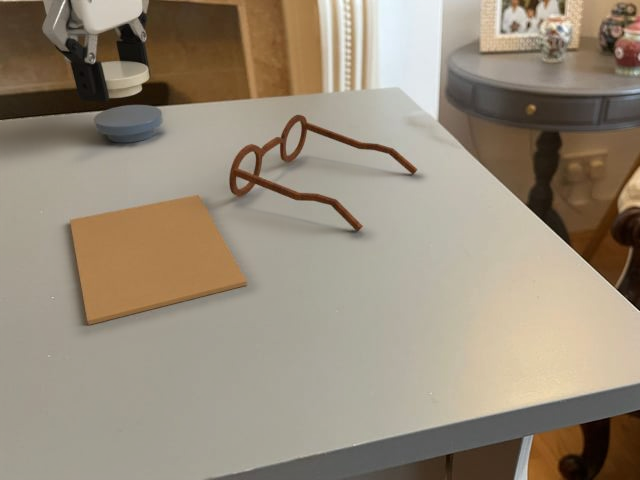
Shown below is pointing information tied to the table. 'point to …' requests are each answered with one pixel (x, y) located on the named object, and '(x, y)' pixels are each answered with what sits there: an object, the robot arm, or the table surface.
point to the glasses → (274, 142)
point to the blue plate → (129, 122)
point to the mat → (150, 258)
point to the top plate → (124, 77)
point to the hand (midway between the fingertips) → (116, 88)
